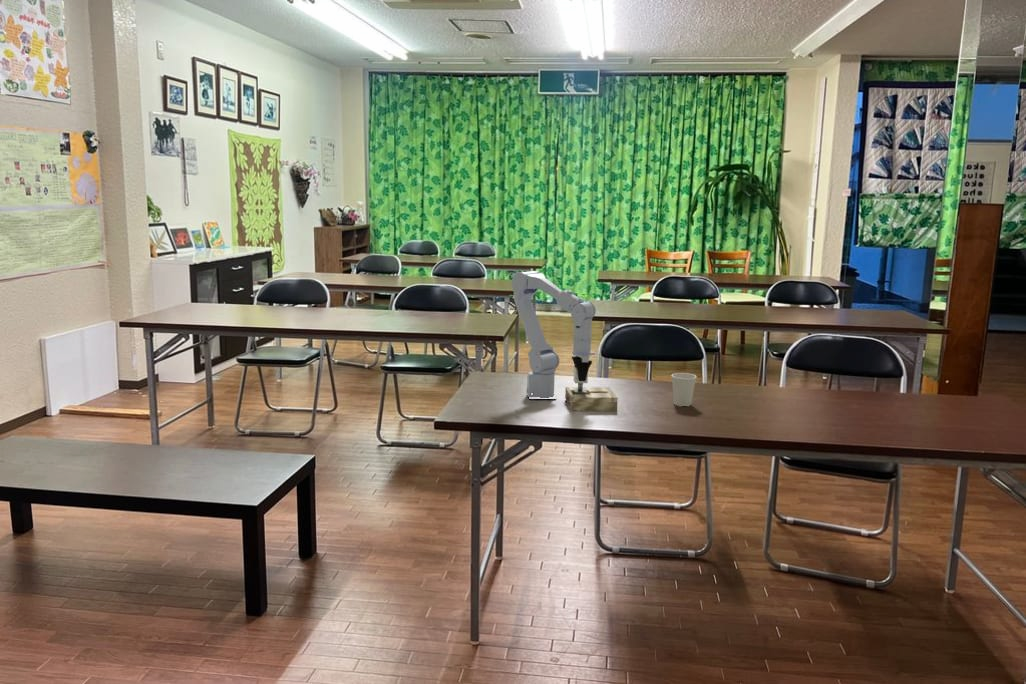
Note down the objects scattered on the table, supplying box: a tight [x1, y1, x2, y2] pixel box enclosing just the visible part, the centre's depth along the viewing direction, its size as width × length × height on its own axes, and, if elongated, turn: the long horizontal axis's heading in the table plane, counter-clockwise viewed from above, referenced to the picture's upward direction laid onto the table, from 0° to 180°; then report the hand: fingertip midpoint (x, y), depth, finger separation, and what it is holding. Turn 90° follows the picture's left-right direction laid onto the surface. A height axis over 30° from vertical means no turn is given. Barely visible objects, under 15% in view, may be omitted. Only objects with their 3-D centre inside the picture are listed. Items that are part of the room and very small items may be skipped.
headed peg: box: [573, 365, 589, 395], centre depth 256 cm, size 4×4×9 cm
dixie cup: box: [671, 372, 698, 407], centre depth 261 cm, size 8×8×10 cm
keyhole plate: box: [564, 386, 619, 412], centre depth 258 cm, size 15×14×4 cm
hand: (581, 379), depth 256 cm, fingers closed on headed peg, 4 cm apart
